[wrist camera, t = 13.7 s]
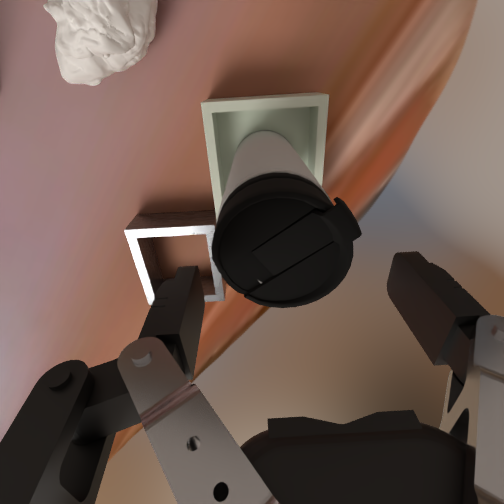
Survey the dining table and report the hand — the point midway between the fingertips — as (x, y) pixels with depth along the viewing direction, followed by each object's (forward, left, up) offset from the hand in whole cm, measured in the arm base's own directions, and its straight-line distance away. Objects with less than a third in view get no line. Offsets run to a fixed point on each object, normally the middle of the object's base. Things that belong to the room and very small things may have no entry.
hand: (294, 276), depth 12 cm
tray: (0, 0, -22) cm, 21 cm away
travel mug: (0, 0, -21) cm, 21 cm away
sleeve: (+11, -11, -22) cm, 26 cm away
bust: (-12, -12, -22) cm, 27 cm away
